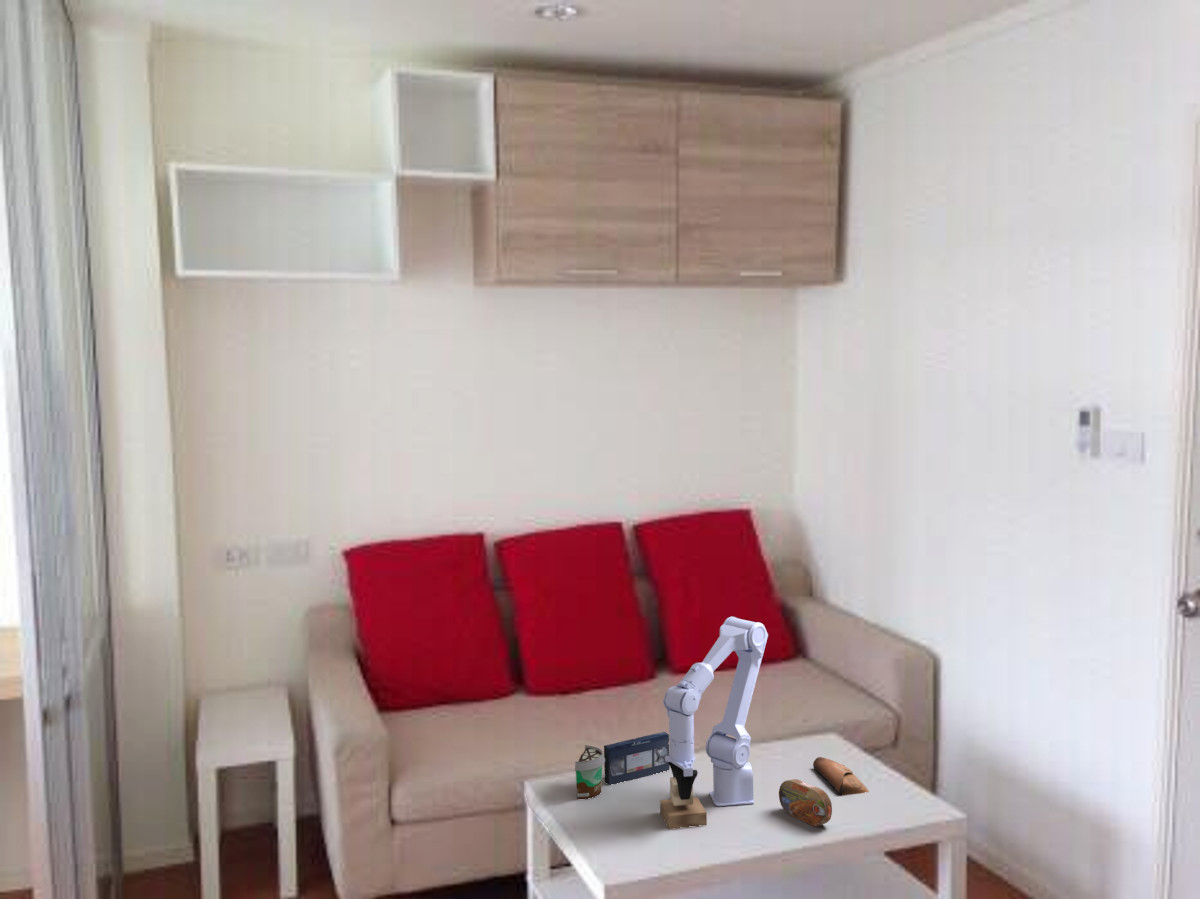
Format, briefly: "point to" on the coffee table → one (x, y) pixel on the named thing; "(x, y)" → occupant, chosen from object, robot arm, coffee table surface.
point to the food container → (589, 772)
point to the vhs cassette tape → (636, 758)
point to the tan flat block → (683, 814)
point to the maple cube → (675, 794)
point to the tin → (805, 802)
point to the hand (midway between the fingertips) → (682, 794)
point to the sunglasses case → (839, 776)
